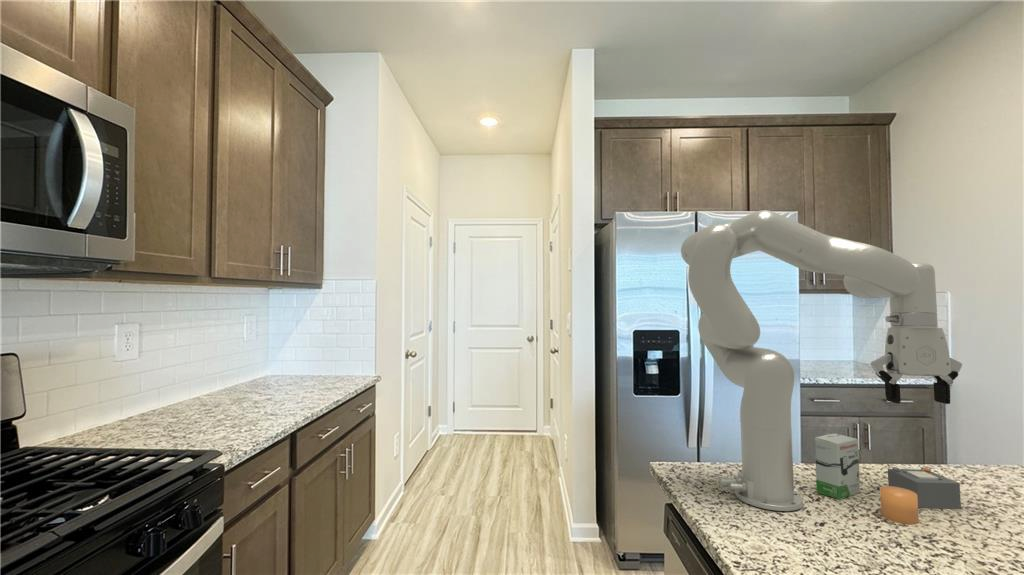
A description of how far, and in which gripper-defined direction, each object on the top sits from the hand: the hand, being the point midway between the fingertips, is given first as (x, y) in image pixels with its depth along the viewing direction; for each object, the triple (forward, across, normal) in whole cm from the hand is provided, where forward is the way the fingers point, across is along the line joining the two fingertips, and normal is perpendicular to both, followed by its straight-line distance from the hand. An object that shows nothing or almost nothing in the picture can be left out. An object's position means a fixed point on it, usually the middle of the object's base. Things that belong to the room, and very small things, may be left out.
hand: (917, 402), depth 96 cm
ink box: (+20, -15, +3) cm, 25 cm away
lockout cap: (+20, -11, -9) cm, 25 cm away
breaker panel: (+20, 0, 0) cm, 20 cm away
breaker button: (+19, 0, 0) cm, 19 cm away
